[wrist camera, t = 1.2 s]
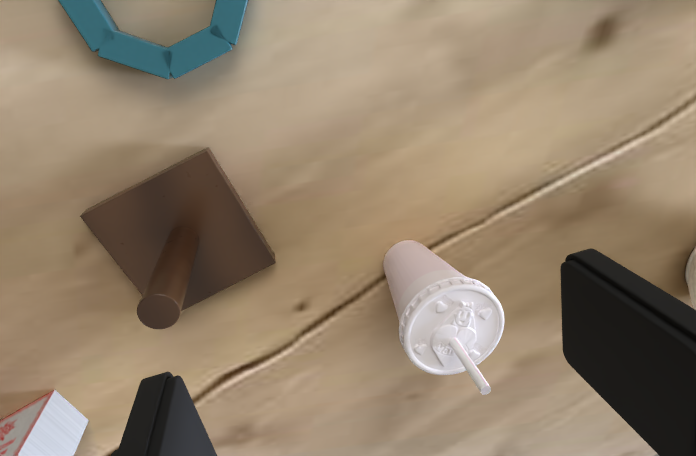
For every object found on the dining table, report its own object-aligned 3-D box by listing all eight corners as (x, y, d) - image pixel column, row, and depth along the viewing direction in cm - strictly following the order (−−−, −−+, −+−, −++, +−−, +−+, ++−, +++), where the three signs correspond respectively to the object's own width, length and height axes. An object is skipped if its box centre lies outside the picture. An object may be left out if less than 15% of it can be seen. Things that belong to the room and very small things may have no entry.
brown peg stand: (208, 146, 30) (189, 192, 21) (275, 255, 34) (283, 336, 25) (85, 210, 30) (11, 283, 21) (165, 312, 34) (132, 413, 25)
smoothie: (356, 292, 36) (412, 426, 24) (379, 216, 34) (453, 319, 22) (430, 302, 38) (520, 434, 25) (456, 231, 36) (567, 334, 23)
